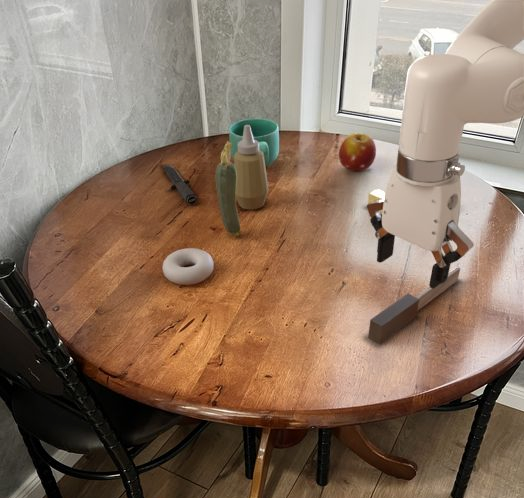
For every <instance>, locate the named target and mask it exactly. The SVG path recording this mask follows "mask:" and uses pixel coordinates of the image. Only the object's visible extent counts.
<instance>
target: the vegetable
mask: <svg viewBox="0 0 524 498" xmlns="http://www.w3.org/2000/svg"><path fill="white" fill-rule="evenodd" d="M231 147H232V143H231V142H230V140H227V141H226V143H225V144H224V146H223V148H222V151H221V153H220V162H219V163H217V166H216V169H215V173H214V174H215V188H216V194H217V202H218V206H219V211H220V217H221V221H222V224H223V226H224V229H225V230H226V232H228V233H229V234H231V235H233V236H236V237H239V235H240V234H241V233H242V232H241V222H240V218H239V213H238V212H239V211H238V208H237V204H236V196H235V192H236V182H237V171H236V167H235V165H234V162H232V161H230V160H231V158H232V155H231V149H230V148H231Z"/></svg>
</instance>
